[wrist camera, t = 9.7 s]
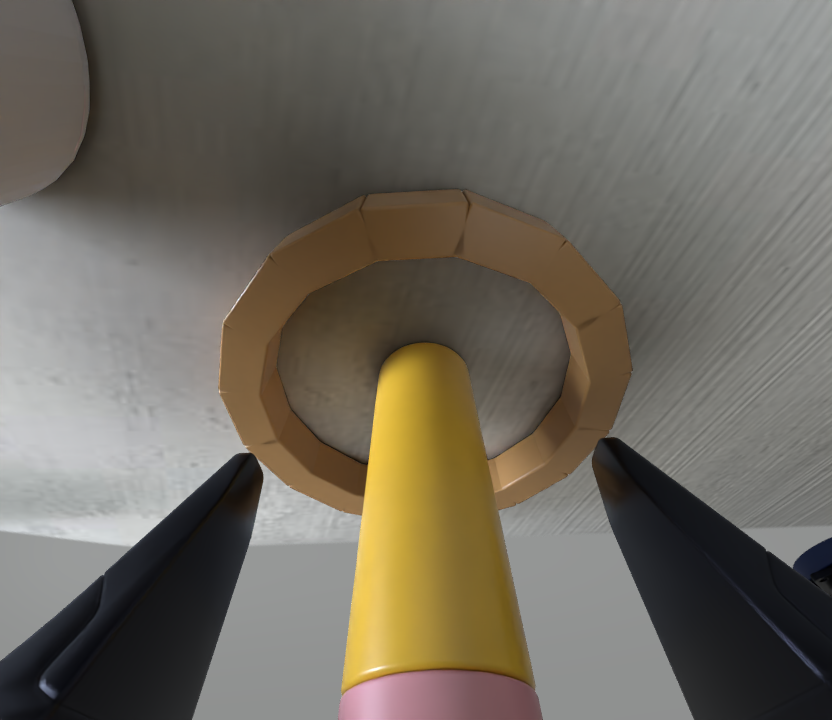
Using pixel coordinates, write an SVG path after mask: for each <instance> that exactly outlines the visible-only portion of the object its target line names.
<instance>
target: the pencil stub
mask: <svg viewBox="0 0 832 720" xmlns="http://www.w3.org/2000/svg"><path fill="white" fill-rule="evenodd" d="M341 692H342V698H341V700H340V705H339V714H338V720H543V719H542V713H541V709H540V704H539V699H538V696H537V694H536V692H535V681H534V676H533V671H532V666H531V662H530V657H529V652H528V648H527V643H526V638H525V634H524V630H523V624H522V620H521V615H520V610H519V606H518V601H517V597H516V592H515V587H514V582H513V577H512V573H511V568H510V563H509V559H508V554H507V549H506V545H505V540H504V535H503V531H502V526H501V521H500V517H499V512H498V507H497V503H496V498H495V493H494V489H493V484H492V479H491V474H490V470H489V465H488V460H487V456H486V451H485V446H484V442H483V437H482V432H481V428H480V423H479V418H478V414H477V409H476V404H475V400H474V395H473V390H472V386H471V381H470V376H469V372H468V368H467V366H466V364H465V362H464V361H463V359H462V358H461V357H460V356H459V355H458V354H457V353H456V352H454V351H453V350H451V349H449V348H447V347H445V346H443V345H439V344H435V343H414V344H410V345H407V346H404V347H402V348H400V349H398V350H396V351H395V352H394V353H392V354H391V355H390V356H389V357H388V358H387V359H386V360H385V362H384V363H383V365H382V367H381V369H380V372H379V379H378V387H377V396H376V404H375V412H374V421H373V429H372V437H371V446H370V454H369V462H368V471H367V479H366V487H365V496H364V504H363V513H362V521H361V529H360V538H359V547H358V554H357V563H356V571H355V580H354V588H353V596H352V604H351V613H350V622H349V630H348V639H347V646H346V655H345V663H344V671H343V681H342V688H341Z"/></svg>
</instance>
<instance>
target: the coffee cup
mask: <svg viewBox="0 0 832 720" xmlns="http://www.w3.org/2000/svg"><path fill="white" fill-rule="evenodd" d="M89 109H90V84H89V71H88V60H87V55H86V50H85V46H84V41H83V36H82V31H81V27H80V23H79V20H78V17H77V14H76V11H75V8H74V5H73V2H72V0H0V206H2V205H5V204H8V203H11V202H14V201H17V200H20V199H23V198H25V197H28V196H31V195H33V194H35V193H37V192H39V191H40V190H42V189H44V188H45V187H47V186H48V185H50V184H51V183H53V182H54V181H56V180H57V179H58V177H59V176H60V175H61V174H62V173H63V172H64V171H65V170H66V168H67V167H68V166H69V165H70V164H71V163H72V162H73V161H74V159H75V156H76V154H77V152H78V149H79V147H80V145H81V142H82V140H83V138H84V136H85V131H86V126H87V121H88V115H89Z"/></svg>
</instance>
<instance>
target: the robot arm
mask: <svg viewBox="0 0 832 720" xmlns="http://www.w3.org/2000/svg"><path fill="white" fill-rule="evenodd" d="M592 468H593V471H594V474H595V477H596V481H597V484H598V487H599V490H600V494H601V497H602V500H603V503H604V507H605V510H606V513H607V516H608V519H609V522H610V525H611V527H612V530H613V532H614V535H615V537H616V539H617V542H618V544H619V546H620V549H621V551H622V553H623V556H624V558H625V560H626V562H627V565H628V567H629V570H630V572H631V574H632V577H633V579H634V581H635V583H636V586H637V588H638V590H639V593H640V595H641V597H642V600H643V602H644V604H645V607H646V609H647V611H648V613H649V616H650V618H651V621H652V623H653V625H654V628H655V630H656V632H657V634H658V637H659V639H660V642H661V644H662V646H663V648H664V651H665V653H666V655H667V658H668V660H669V662H670V665H671V667H672V669H673V672H674V674H675V676H676V679H677V681H678V683H679V686H680V688H681V690H682V693H683V695H684V697H685V700H686V702H687V704H688V706H689V709H690V711H691V713H692V716H693V718H694V720H832V567H829V568H826V569H823V570H820V571H817V572H814V573H812V574H811V575H810V577H811V579H812V580H813V581H814V582H815V583H816V584H817V585H818V586H819V587H820V588H821V589H822V590H821V589H820V588H818V587H817V586H816V585H814V584H813V583H812V582H810V581H809V580H807V579H806V578H805V577H803V576H802V575H801V574H799V573H798V572H796V571H795V570H794V569H792V568H791V567H790V566H788V565H787V564H786V563H784V562H783V561H781V560H780V559H779V558H778V557H776V556H775V555H774V554H772V553H771V552H769V551H766V549H765V548H764V547H763V546H761V545H760V544H759V543H757V542H756V541H755V540H753V539H752V538H751V537H749V536H748V535H747V534H745V533H744V532H743V531H741V530H740V529H739V528H737V527H736V526H735V525H733V524H732V523H731V522H729V521H728V520H727V519H725V518H724V517H723V516H721V515H720V514H719V513H717V512H716V511H715V510H713V509H712V508H711V507H709V506H708V505H707V504H705V503H704V502H703V501H701V500H700V499H699V498H697V497H696V496H695V495H693V494H692V493H691V492H689V491H688V490H687V489H685V488H684V487H683V486H681V485H680V484H679V483H677V482H676V481H675V480H673V479H672V478H671V477H669V476H668V475H667V474H665V473H664V472H663V471H661V470H660V469H659V468H657V467H656V466H655V465H653V464H652V463H651V462H649V461H648V460H646V459H645V458H644V457H642V456H641V455H640V454H638V453H637V452H636V451H634V450H633V449H632V448H630V447H629V446H628V445H626V444H625V443H624V442H622V441H621V440H620V439H618V438H615V437H609V438H600V439H599V440H598V442H597V445H596V448H595V451H594V454H593V457H592ZM262 484H263V472H262V469H261V467H260V465H259V463H258V461H257V458H256V456H255V455H254V454H253V453H239V454H236V455H235V456H233V457H232V458H231V459H230V460H229V461H228V462H227V463H226V464H224V465H223V466H222V467H221V468H220V469H219V470H218V471H217V472H216V473H215V474H213V475H212V476H211V477H210V478H209V479H208V480H207V481H206V482H205V483H203V484H202V485H201V486H200V487H199V488H198V489H197V490H196V491H195V492H193V493H192V494H191V495H190V496H189V497H188V498H187V499H186V500H185V501H183V502H182V503H181V504H180V505H179V506H178V507H177V508H176V509H175V510H173V511H172V512H171V513H170V514H169V515H168V516H167V517H166V518H165V519H163V520H162V521H161V522H160V523H159V524H158V525H157V526H156V527H155V528H153V529H152V530H151V531H150V532H149V533H148V534H147V535H146V536H145V537H144V538H142V539H141V540H140V541H139V542H138V543H137V544H136V545H135V546H134V547H132V548H131V549H130V550H129V551H128V552H127V553H126V554H125V555H124V556H122V557H121V558H120V559H119V560H118V561H117V562H116V563H115V564H114V565H112V566H111V567H110V568H109V569H108V570H107V571H106V572H105V574H104V575H102V576H100V577H99V578H98V579H97V580H96V581H95V582H94V583H92V584H91V585H90V586H89V587H88V588H87V589H86V590H85V591H83V592H82V593H81V594H80V595H79V596H78V597H77V598H75V599H74V600H73V601H72V602H71V603H70V604H69V605H67V607H65V608H64V609H63V610H62V611H61V612H60V613H58V614H57V615H56V616H55V617H54V618H53V619H51V620H50V621H49V622H48V623H46V624H45V625H44V626H43V627H41V628H40V629H39V630H38V631H37V632H35V633H34V634H33V635H32V636H31V637H30V638H28V639H27V640H26V641H25V642H23V643H22V644H21V645H20V646H18V647H17V648H16V649H15V650H13V651H12V652H11V653H10V654H9V655H7V656H6V657H5V658H4V659H2V660H1V661H0V720H192V718H193V715H194V712H195V709H196V705H197V702H198V699H199V696H200V693H201V690H202V687H203V684H204V681H205V678H206V675H207V671H208V669H209V665H210V662H211V659H212V656H213V653H214V650H215V647H216V644H217V641H218V638H219V635H220V632H221V629H222V626H223V622H224V620H225V616H226V613H227V610H228V607H229V604H230V601H231V598H232V595H233V592H234V589H235V586H236V583H237V579H238V576H239V573H240V570H241V567H242V564H243V561H244V558H245V555H246V552H247V549H248V546H249V542H250V539H251V535H252V531H253V527H254V522H255V517H256V513H257V508H258V503H259V498H260V494H261V489H262Z"/></svg>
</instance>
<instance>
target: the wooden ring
mask: <svg viewBox="0 0 832 720" xmlns="http://www.w3.org/2000/svg"><path fill="white" fill-rule="evenodd" d="M447 257H458V258H461V259H464V260H466V261H469V262H472V263H475V264H478V265H480V266H483V267H486V268H489V269H492V270H495V271H497V272H500V273H503V274H506V275H509V276H511V277H514V278H517V279H520V280H523V281H526V282H528V283H531V284H532V285H533V287H534V288H535V289H536V290H537V291H538V292H539V293H540V294H541V295H542V296H543V297H544V298H545V299H546V300H547V301H548V302H549V303H550V304H551V305H552V306H553V307H554V308H555V309H556V310H557V311H558V312H559V313H560V316H561V319H562V323H563V327H564V330H565V334H566V337H567V341H568V345H569V348H570V352H571V355H570V360H569V364H568V368H567V372H566V377H565V381H564V385H563V390H562V394H561V397H560V399H559V400H558V401H557V403H556V404H555V405H554V407H553V408H552V409H551V410H550V412H549V413H548V414H547V416H546V417H545V418H544V420H543V421H542V422H541V423H540V425H539V426H538V427H537V429H536V430H535V431H534V433H533V434H531V435H530V436H528V437H527V438H525V439H523V440H522V441H520V442H519V443H517V444H516V445H514V446H513V447H511V448H510V449H508V450H507V451H505V452H504V453H502V454H500V455H499V456H497V457H496V458H493V459H490V460H488V465H489V470H490V474H491V479H492V484H493V489H494V493H495V498H496V503H497V507H498V510H501V509H505V508H508V507H512V506H515V505H516V503H517V504H519V503H521V502H523V501H525V500H527V499H528V498H530V497H532V496H534V495H535V494H537V493H539V492H541V491H543V490H544V489H546V488H548V487H550V486H551V485H553V484H555V483H557V482H559V481H560V480H562V479H564V478H566V477H567V476H568V474H571V473H572V472H573V471H574V470H575V469H576V468H577V467H578V466H579V465H580V464H581V463H582V461H583V460H584V459H585V458H586V457H587V456H588V455H589V454H590V453H591V452H592V451H593V450H594V449H595V448H596V445H597V442H598V440H599V439H600V438H605V437H606V436H607V435H608V434H609V430H610V429H612V427H613V424H614V421H615V419H616V416H617V413H618V411H619V408H620V405H621V402H622V400H623V397H624V394H625V391H626V389H627V386H628V383H629V380H630V378H631V372H632V371H633V368H632V362H631V356H630V350H629V343H628V337H627V331H626V325H625V319H624V313H623V306H622V304H621V303H620V300H619V299H618V298H617V296H616V295H615V294H614V293H613V292H612V291H611V289H610V288H609V287H608V286H607V285H606V284H605V282H604V281H603V280H602V279H601V278H600V277H599V275H598V274H597V273H596V272H595V271H594V270H593V268H592V267H591V266H590V265H589V264H588V263H587V261H586V260H585V259H584V258H583V257H582V256H581V254H580V253H579V252H578V251H577V250H576V249H575V247H574V246H573V245H572V244H571V243H570V242H569V241H568V240H567V239H566V238H565V237H564V236H563V235H561V234H560V233H559V232H558V231H557V230H556V229H555V228H553V227H552V226H551V225H550V224H548V223H547V222H546V221H544V220H541V219H539V218H536V217H534V216H531V215H529V214H526V213H524V212H521V211H519V210H516V209H514V208H511V207H509V206H506V205H504V204H501V203H499V202H496V201H494V200H491V199H489V198H486V197H484V196H481V195H479V194H476V193H474V192H471V191H469V190H466V189H465V190H463V192H462V191H461V190H460V189H446V190H429V191H411V192H393V193H375V194H369V195H367V198H366V196H365V195H362V196H360V197H358V198H357V199H355V200H353V201H351V202H349V203H347V204H345V205H343V206H342V207H340V208H338V209H336V210H334V211H332V212H330V213H328V214H327V215H325V216H323V217H321V218H319V219H317V220H315V221H313V222H312V223H310V224H308V225H306V226H304V227H302V228H300V229H298V230H297V231H295V232H293V233H291V234H289V235H288V236H287V237H286V238H284V239H283V240H282V241H281V242H280V244H279V245H278V246H277V247H276V248H275V249H274V250H273V251H272V252H271V253H270V254H269V255H268V256H267V257H266V259H265V260H264V262H263V263H262V265H261V266H260V268H259V269H258V271H257V272H256V273H255V275H254V276H253V278H252V279H251V281H250V282H249V284H248V285H247V287H246V288H245V290H244V291H243V292H242V294H241V295H240V297H239V298H238V300H237V301H236V303H235V304H234V306H233V307H232V309H231V310H230V312H229V313H228V314H227V316H226V317H225V319H224V320H223V325H222V335H221V351H220V368H219V384H218V389H219V390H220V391H219V394H220V396H221V398H222V400H223V402H224V404H225V407H226V409H227V411H228V413H229V415H230V417H231V419H232V421H233V424H234V426H235V428H236V430H237V432H238V434H239V436H240V438H241V441H242V443H243V445H245V446H246V449H248V450H249V451H250V452H251V453H253V454H254V455H255V456H256V458H257V459H259V460H260V461H261V462H262V463H263V464H264V465H265V466H266V467H267V468H268V469H270V470H271V471H272V472H273V473H274V474H275V475H276V476H277V477H278V478H279V479H281V480H282V481H283V482H284V483H285V484H286V485H288V486H290V488H292V489H294V490H296V491H298V492H301V493H303V494H305V495H307V496H309V497H311V498H313V499H316V500H318V501H320V502H322V503H324V504H326V505H328V506H331V507H333V508H335V509H337V510H339V511H343V512H346V513H351V514H356V515H361V516H362V513H363V504H364V496H365V487H366V479H367V471H368V465H365V464H360V463H359V462H357V461H355V460H353V459H351V458H349V457H347V456H346V455H344V454H342V453H340V452H338V451H336V450H335V449H333V448H331V447H329V446H327V445H325V444H323V443H322V442H320V441H319V440H318V439H317V438H316V437H315V436H314V434H313V433H312V432H311V431H310V430H309V429H308V428H307V427H306V426H305V425H304V424H303V422H302V421H301V420H300V419H299V418H298V417H297V416H296V415H295V414H294V413H293V411H292V410H291V409H290V407H289V404H288V401H287V398H286V395H285V392H284V389H283V386H282V383H281V380H280V377H279V374H278V371H277V368H276V364H277V358H278V352H279V346H280V341H281V335H282V329H283V326H284V324H285V323H286V322H287V321H288V319H289V318H290V317H291V316H292V314H293V313H294V312H295V311H296V309H297V308H298V307H299V306H300V304H301V303H302V302H303V301H304V299H305V298H306V297H307V295H308V294H310V293H312V292H314V291H316V290H318V289H321V288H323V287H325V286H327V285H329V284H331V283H333V282H335V281H337V280H339V279H341V278H344V277H346V276H348V275H350V274H352V273H354V272H356V271H358V270H360V269H362V268H364V267H367V266H369V265H371V264H373V263H375V262H377V261H390V260H409V259H428V258H447Z"/></svg>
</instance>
